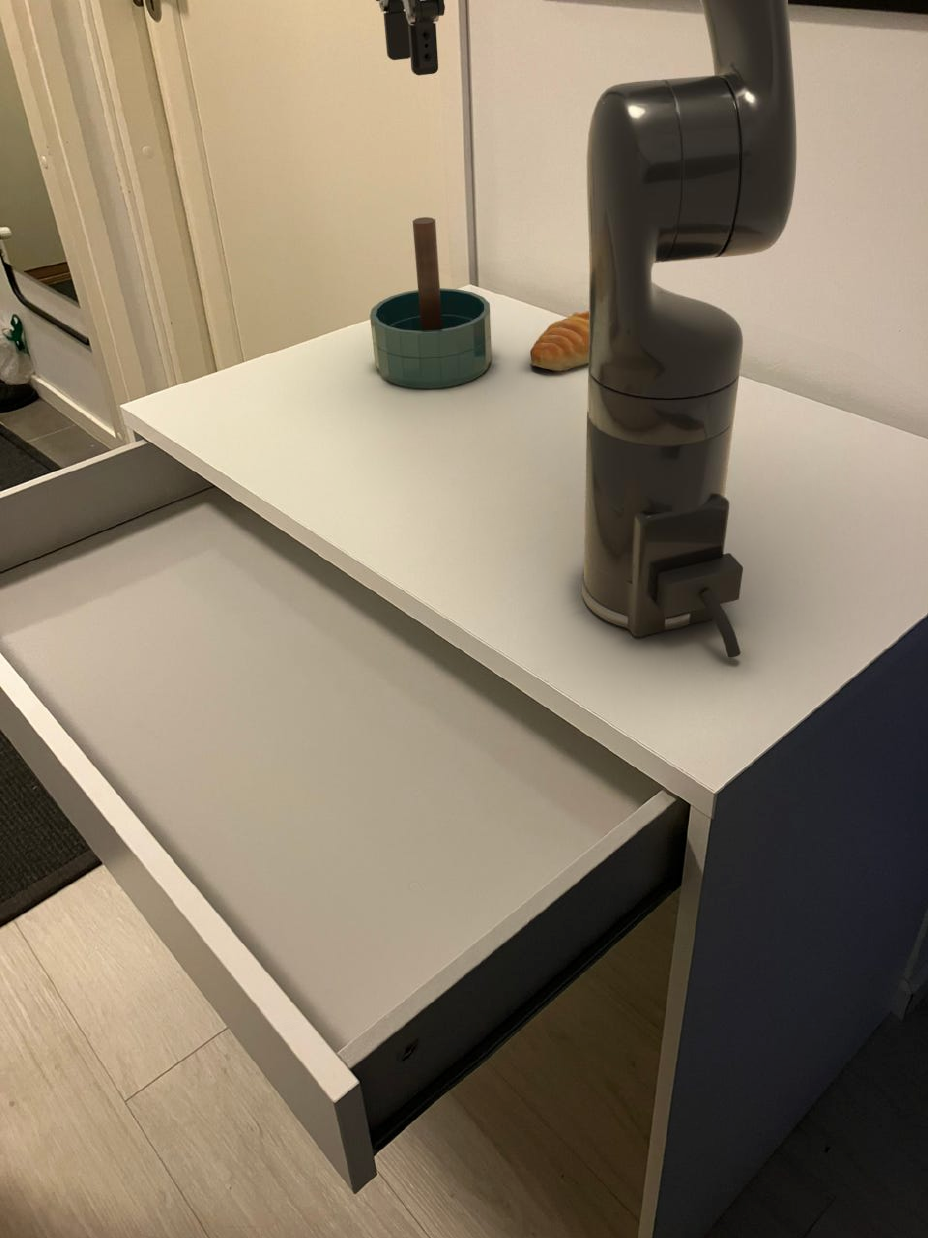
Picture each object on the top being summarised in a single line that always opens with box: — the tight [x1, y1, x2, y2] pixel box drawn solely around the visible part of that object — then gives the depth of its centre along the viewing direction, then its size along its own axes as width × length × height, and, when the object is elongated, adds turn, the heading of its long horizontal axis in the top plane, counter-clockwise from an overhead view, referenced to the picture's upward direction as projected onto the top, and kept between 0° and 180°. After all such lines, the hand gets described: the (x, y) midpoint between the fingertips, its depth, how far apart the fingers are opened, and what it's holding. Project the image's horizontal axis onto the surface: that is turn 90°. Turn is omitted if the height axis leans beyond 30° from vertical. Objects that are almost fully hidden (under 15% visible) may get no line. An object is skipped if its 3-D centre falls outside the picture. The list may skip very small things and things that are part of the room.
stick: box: [412, 216, 443, 331], centre depth 102 cm, size 4×4×14 cm
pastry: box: [529, 310, 589, 373], centre depth 106 cm, size 9×7×4 cm
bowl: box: [369, 287, 493, 390], centre depth 105 cm, size 12×12×6 cm
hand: (412, 65), depth 90 cm, fingers open, 8 cm apart
